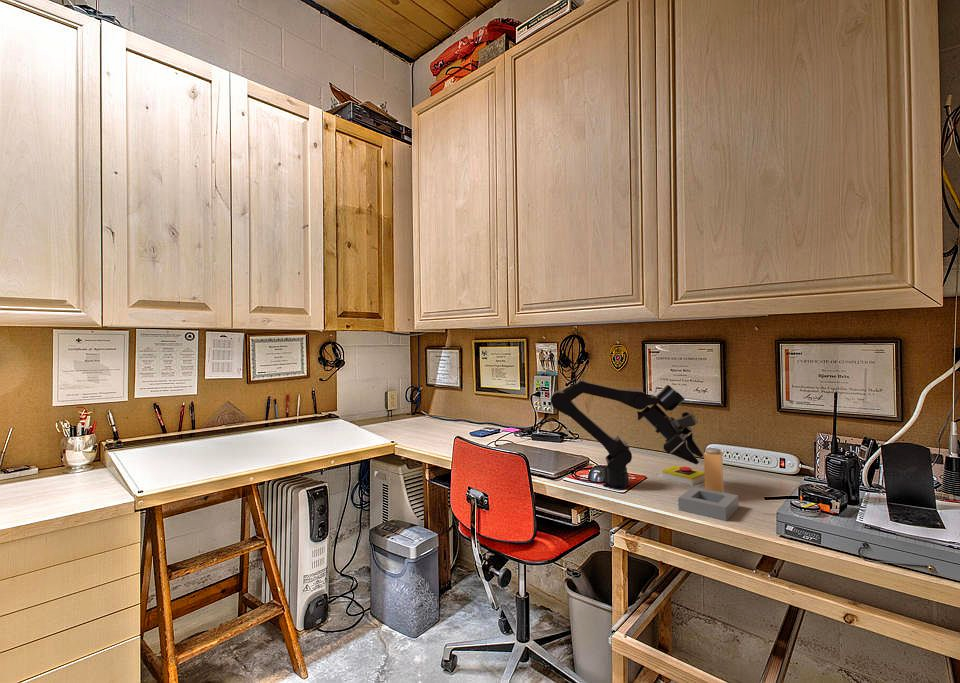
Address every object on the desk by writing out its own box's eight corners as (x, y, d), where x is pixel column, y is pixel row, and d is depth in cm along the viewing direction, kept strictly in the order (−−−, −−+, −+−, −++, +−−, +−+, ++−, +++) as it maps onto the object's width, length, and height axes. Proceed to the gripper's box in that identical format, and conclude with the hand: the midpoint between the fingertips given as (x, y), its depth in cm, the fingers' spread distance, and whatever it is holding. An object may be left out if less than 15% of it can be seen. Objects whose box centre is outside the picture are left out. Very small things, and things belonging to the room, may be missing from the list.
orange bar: (705, 496, 135) (703, 450, 135) (707, 492, 139) (705, 447, 139) (722, 499, 133) (720, 452, 133) (723, 494, 137) (722, 448, 137)
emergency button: (697, 475, 144) (654, 465, 156) (697, 488, 144) (655, 478, 156) (711, 469, 150) (669, 460, 162) (711, 482, 150) (669, 472, 162)
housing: (678, 510, 126) (678, 497, 126) (693, 498, 135) (693, 486, 135) (725, 521, 118) (725, 507, 118) (738, 507, 126) (738, 495, 126)
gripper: (673, 408, 133) (716, 449, 127) (684, 400, 149) (723, 436, 143) (647, 433, 138) (687, 474, 132) (660, 422, 153) (697, 458, 147)
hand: (700, 459), depth 138 cm, fingers open, 9 cm apart
